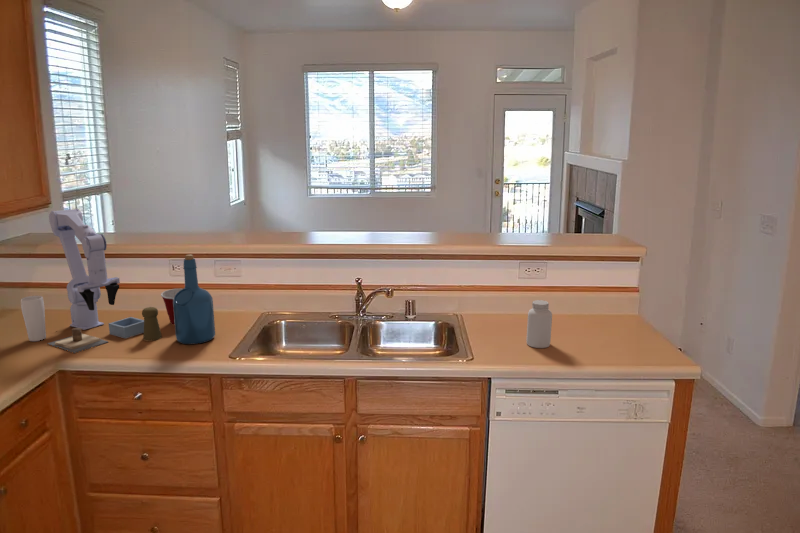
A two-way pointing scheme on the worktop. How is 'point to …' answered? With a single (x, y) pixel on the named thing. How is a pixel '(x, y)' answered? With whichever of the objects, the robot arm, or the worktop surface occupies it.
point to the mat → (79, 347)
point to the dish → (127, 327)
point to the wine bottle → (193, 309)
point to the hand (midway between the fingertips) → (101, 307)
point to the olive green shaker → (151, 324)
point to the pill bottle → (539, 325)
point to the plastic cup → (170, 302)
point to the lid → (77, 340)
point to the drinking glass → (34, 317)
